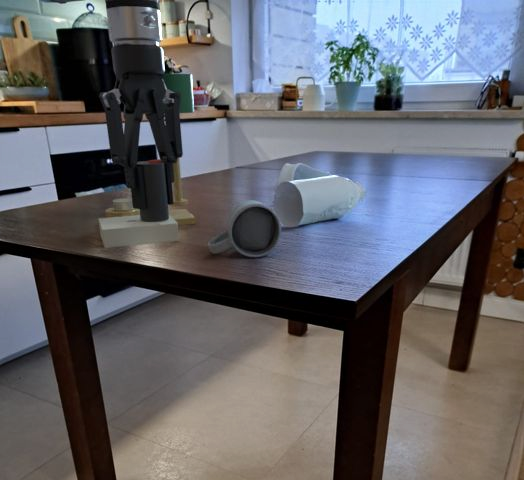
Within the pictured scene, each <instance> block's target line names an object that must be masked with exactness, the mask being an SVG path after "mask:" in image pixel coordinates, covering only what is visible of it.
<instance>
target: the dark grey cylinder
mask: <svg viewBox="0 0 524 480" xmlns="http://www.w3.org/2000/svg"><path fill="white" fill-rule="evenodd" d="M137 167H142V173H143V182H144V191H145V201H146V209H145V210H141V209H139V211H140V220H141V221H145V222H159V221H165V220H168V219H169V205H168V199H167V188H166V177H165V166H164V162H162V160H161V159H160V158H159V159H149V160H145V161H143V160H142V161H137Z"/></svg>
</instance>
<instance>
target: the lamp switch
mask: <svg viewBox="0 0 524 480" xmlns="http://www.w3.org/2000/svg"><path fill="white" fill-rule="evenodd" d="M112 207H113V208H114V211H117V212H123V211H131V210H134V208H133V203H132V198H115V199H112Z"/></svg>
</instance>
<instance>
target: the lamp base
mask: <svg viewBox="0 0 524 480" xmlns="http://www.w3.org/2000/svg"><path fill="white" fill-rule="evenodd" d="M168 210H169V209H168ZM135 215H140V211H139V209H136V208H134V210H131V211H123V212H117V211H114V208H113V206H112V207H109V208H106V209H105V218H110V217H123V216H135ZM169 215H170V216H171V217H172V218H173V216H181V217H177V218H173V219H174V220H175V221H176V222H177V223H178V226H186V225H187V226H188V225H189V226H190V225H196V223H197V222H196V217H195V216H194V215H193V214H192V213H191V212H190V211H189V210H187V209H186V208H181V209H180V208H179V209H170V210H169Z"/></svg>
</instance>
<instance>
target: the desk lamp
mask: <svg viewBox="0 0 524 480" xmlns="http://www.w3.org/2000/svg"><path fill="white" fill-rule="evenodd" d="M163 80H164V83H165V85H166V89H168V90H170V91H172V92H179V93H180V94H181V101H180V106H179V113H180V114H192V113H195V102H194V87H193V74H192V73H164V74H163ZM161 104H162V107H163V111H164V104H165V103H163V101H162V103H161ZM180 161H181V160H180V158H177V162H176V163H173V168H174V183H173V189H174V191H173V192H174V198H173V204H172V205H171V206H173V207H183V206H187V205H188V204H189V203H188V202H189V201H188V199H186V198H183V189H182V176H181V175H182V173H181V162H180Z"/></svg>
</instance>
